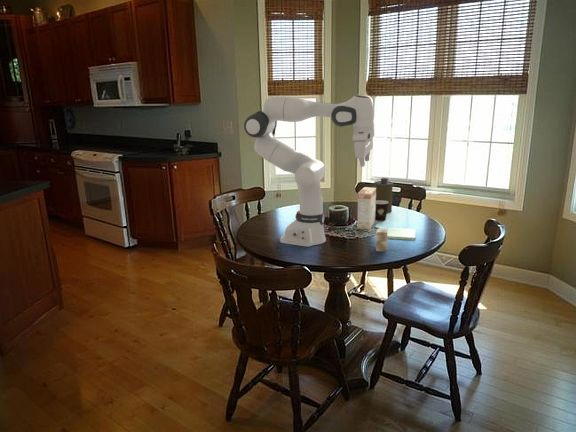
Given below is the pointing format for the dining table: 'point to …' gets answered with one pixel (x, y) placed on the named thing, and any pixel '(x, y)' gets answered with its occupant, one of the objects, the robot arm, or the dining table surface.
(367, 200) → the coffeecake box
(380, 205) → the coffee mug
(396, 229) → the white square tile
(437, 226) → the dining table surface
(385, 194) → the canister
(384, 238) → the maple block
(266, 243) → the dining table surface
